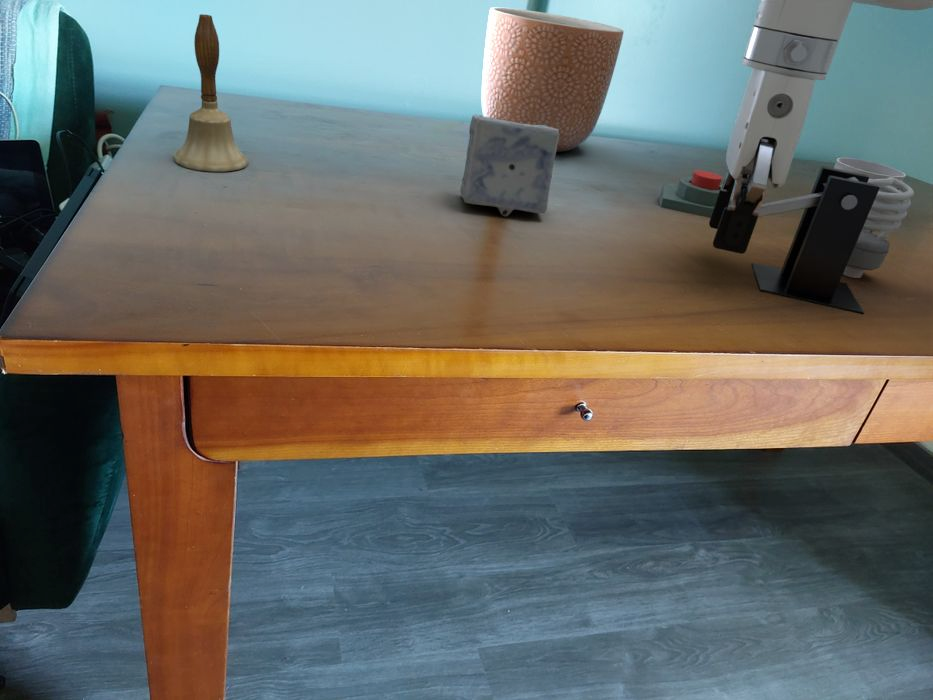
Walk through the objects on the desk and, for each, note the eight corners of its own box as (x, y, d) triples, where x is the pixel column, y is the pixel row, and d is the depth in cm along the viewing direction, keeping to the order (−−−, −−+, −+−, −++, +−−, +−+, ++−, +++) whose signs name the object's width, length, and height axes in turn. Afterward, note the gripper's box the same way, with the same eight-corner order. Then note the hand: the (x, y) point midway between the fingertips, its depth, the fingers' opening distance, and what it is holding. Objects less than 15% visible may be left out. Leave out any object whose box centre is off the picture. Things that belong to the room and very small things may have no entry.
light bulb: (831, 287, 80) (877, 180, 74) (812, 268, 85) (853, 166, 79) (881, 295, 80) (930, 189, 74) (859, 275, 85) (904, 174, 79)
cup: (880, 258, 93) (915, 181, 88) (816, 245, 93) (846, 168, 89) (861, 237, 100) (893, 165, 95) (801, 226, 100) (829, 153, 96)
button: (717, 187, 97) (721, 174, 97) (718, 194, 94) (723, 180, 93) (689, 181, 98) (693, 168, 97) (690, 188, 95) (694, 175, 94)
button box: (731, 213, 101) (740, 185, 99) (736, 230, 94) (746, 200, 92) (658, 198, 102) (666, 170, 100) (658, 214, 95) (667, 184, 93)
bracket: (756, 300, 73) (803, 175, 67) (748, 272, 80) (790, 157, 74) (859, 323, 72) (916, 198, 66) (842, 293, 79) (892, 177, 73)
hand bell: (184, 173, 81) (178, 18, 74) (165, 152, 87) (158, 6, 79) (257, 171, 86) (259, 24, 78) (235, 151, 91) (234, 13, 84)
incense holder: (536, 201, 92) (553, 117, 87) (544, 223, 85) (563, 133, 80) (459, 191, 91) (471, 105, 86) (461, 212, 84) (475, 120, 79)
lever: (730, 236, 73) (726, 213, 72) (726, 221, 77) (723, 199, 76) (865, 210, 69) (863, 185, 68) (853, 196, 73) (851, 173, 72)
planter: (445, 131, 119) (462, 3, 110) (520, 123, 134) (541, 10, 125) (548, 167, 108) (576, 29, 99) (618, 154, 123) (648, 33, 114)
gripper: (851, 72, 59) (773, 277, 67) (813, 54, 74) (753, 223, 82) (756, 55, 60) (692, 259, 68) (738, 40, 75) (686, 209, 83)
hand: (726, 237), depth 75 cm, fingers open, 6 cm apart
